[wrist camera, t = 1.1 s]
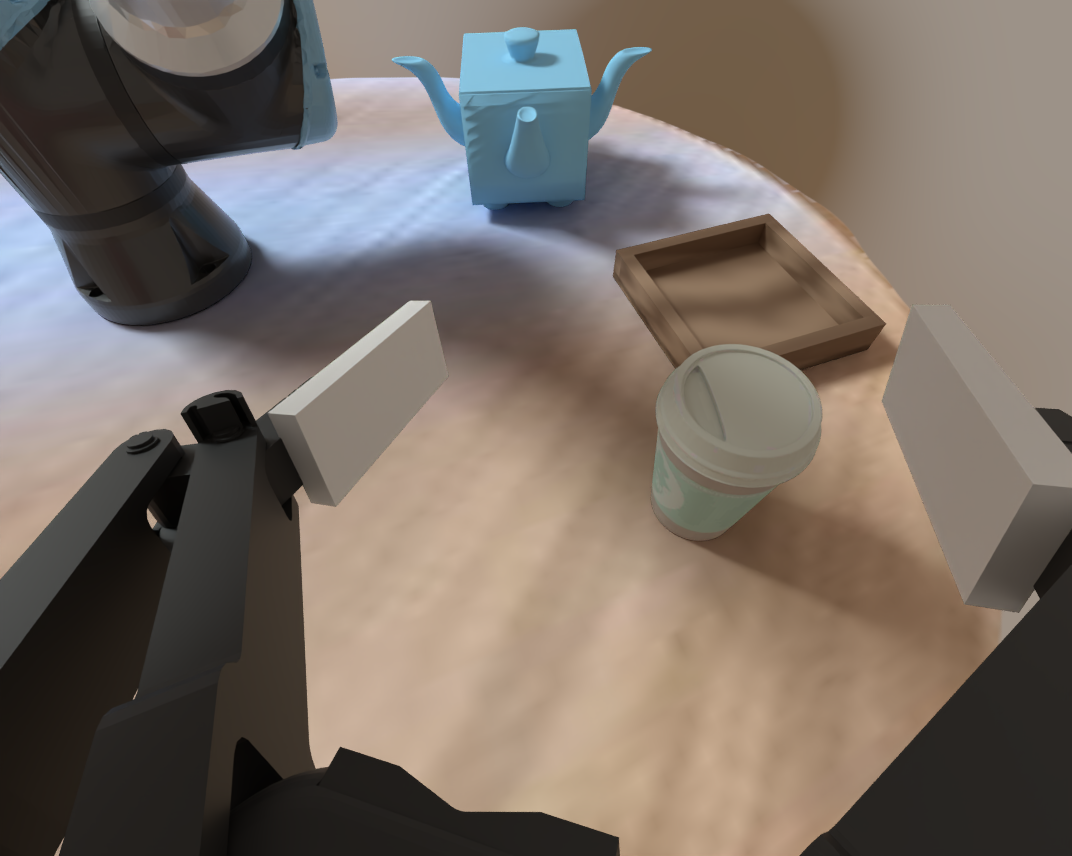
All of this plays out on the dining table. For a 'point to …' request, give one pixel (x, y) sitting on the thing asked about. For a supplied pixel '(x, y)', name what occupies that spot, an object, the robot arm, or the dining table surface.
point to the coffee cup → (729, 436)
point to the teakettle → (524, 112)
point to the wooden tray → (743, 294)
